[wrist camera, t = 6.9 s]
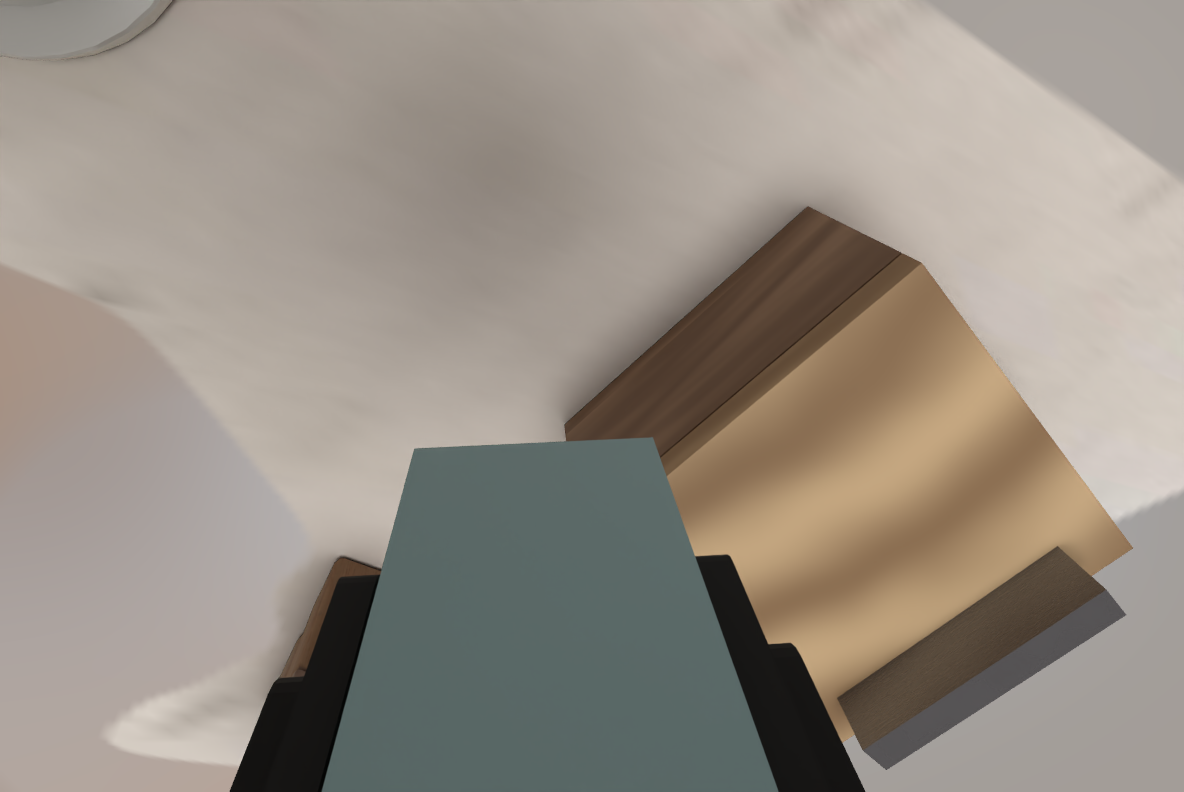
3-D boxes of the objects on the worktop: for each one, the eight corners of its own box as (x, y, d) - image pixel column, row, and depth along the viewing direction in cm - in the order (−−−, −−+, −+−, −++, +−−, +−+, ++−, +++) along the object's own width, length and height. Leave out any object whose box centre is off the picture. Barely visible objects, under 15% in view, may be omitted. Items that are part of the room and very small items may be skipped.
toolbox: (564, 424, 33) (576, 527, 25) (807, 206, 29) (900, 252, 22) (761, 599, 38) (817, 725, 31) (985, 431, 35) (1107, 527, 28)
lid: (576, 528, 25) (584, 597, 22) (902, 253, 22) (968, 286, 19) (818, 727, 31) (853, 805, 27) (1108, 529, 27) (1188, 591, 24)
